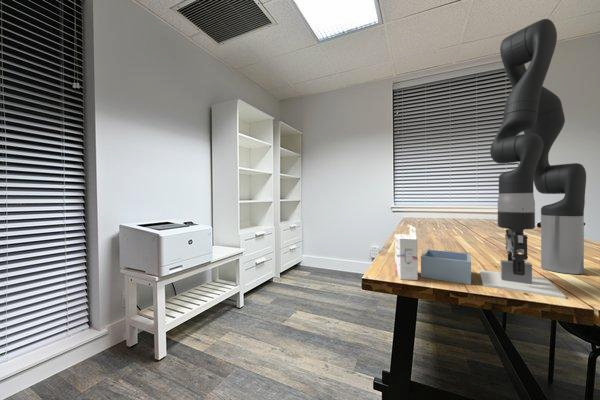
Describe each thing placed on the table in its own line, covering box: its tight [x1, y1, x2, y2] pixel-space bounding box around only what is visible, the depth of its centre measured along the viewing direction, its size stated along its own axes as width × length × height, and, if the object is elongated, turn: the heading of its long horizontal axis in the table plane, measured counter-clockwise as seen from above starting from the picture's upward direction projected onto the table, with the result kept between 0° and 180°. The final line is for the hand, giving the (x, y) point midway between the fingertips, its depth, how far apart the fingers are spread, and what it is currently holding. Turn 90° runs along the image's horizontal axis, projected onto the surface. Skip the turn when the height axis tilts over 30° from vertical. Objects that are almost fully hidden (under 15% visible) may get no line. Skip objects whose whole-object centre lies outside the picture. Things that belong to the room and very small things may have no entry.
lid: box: [479, 259, 567, 300], centre depth 66 cm, size 15×15×6 cm
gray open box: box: [420, 248, 472, 286], centre depth 73 cm, size 12×12×6 cm
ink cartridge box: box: [394, 224, 419, 281], centre depth 73 cm, size 9×5×15 cm, turn 168°
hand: (515, 270), depth 66 cm, fingers open, 8 cm apart
